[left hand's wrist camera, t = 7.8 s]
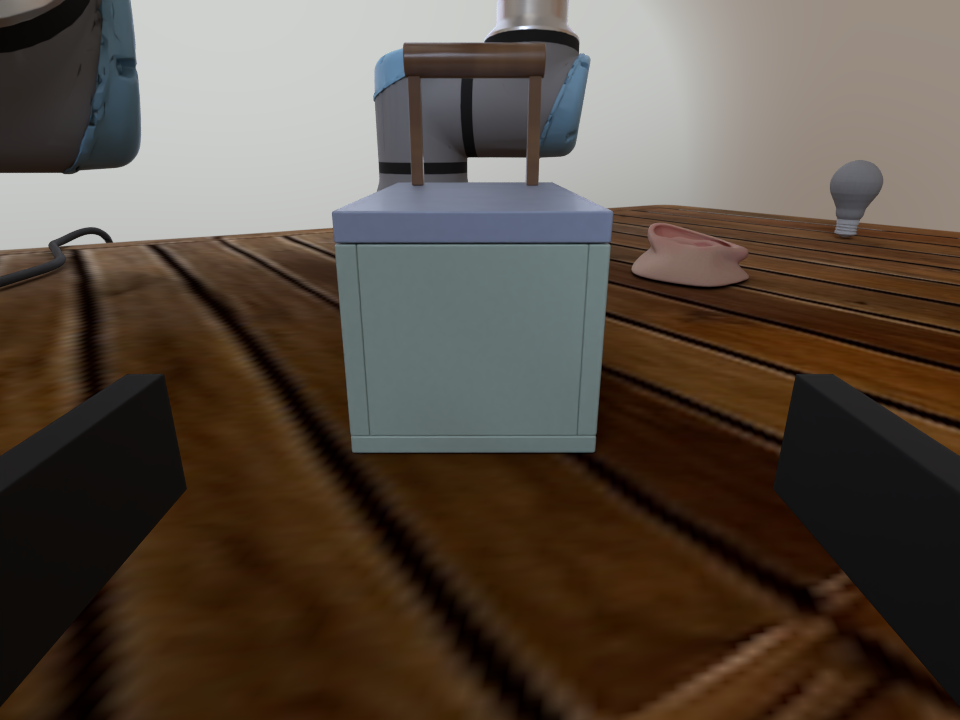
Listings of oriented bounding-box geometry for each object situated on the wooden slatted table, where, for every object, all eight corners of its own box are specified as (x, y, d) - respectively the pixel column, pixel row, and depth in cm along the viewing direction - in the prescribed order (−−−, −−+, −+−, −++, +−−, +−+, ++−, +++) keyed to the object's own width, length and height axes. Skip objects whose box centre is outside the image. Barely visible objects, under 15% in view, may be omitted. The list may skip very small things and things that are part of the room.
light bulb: (828, 239, 79) (844, 160, 75) (814, 233, 84) (828, 159, 81) (877, 240, 78) (896, 161, 74) (860, 234, 83) (876, 159, 80)
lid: (397, 200, 38) (391, 51, 35) (552, 200, 38) (558, 51, 35) (333, 243, 21) (310, -37, 18) (611, 243, 21) (632, -37, 18)
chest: (402, 331, 40) (396, 202, 37) (548, 331, 40) (554, 202, 37) (351, 453, 24) (334, 244, 21) (595, 453, 24) (611, 244, 21)
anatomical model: (749, 245, 49) (614, 235, 54) (742, 291, 50) (611, 278, 56) (761, 227, 60) (648, 220, 65) (755, 265, 61) (644, 256, 66)
